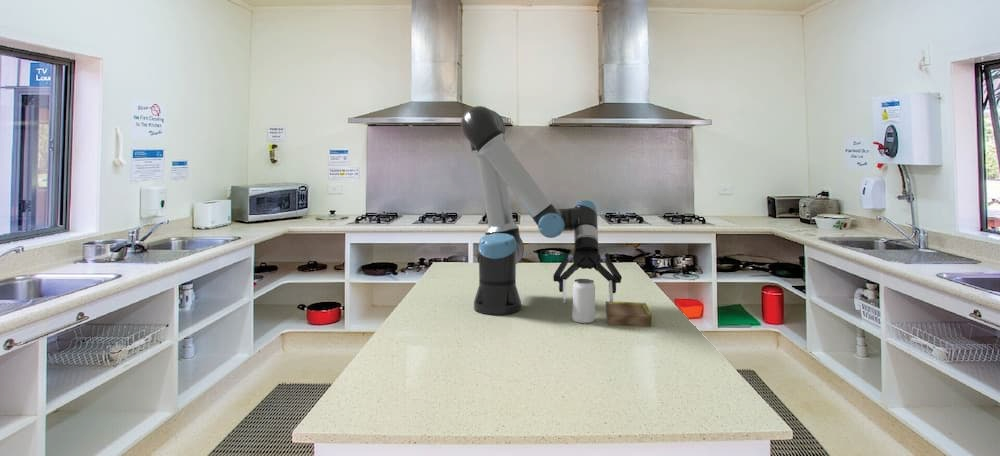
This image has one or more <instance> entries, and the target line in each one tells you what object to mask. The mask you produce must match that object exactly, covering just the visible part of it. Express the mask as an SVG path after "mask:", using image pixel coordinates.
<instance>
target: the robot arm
mask: <svg viewBox="0 0 1000 456" xmlns="http://www.w3.org/2000/svg"><path fill="white" fill-rule="evenodd" d="M460 126H461V131H462V134H463V136H464V137H465V138H466V140H468V142H469V143H470V148H471V153H472V154H473V155H474V156H476V159H477V162H478V163H477V164H478V170H479V175H480V182H481V188H482V195H483V200H484V201H483V202H484V206H485V212H486V219H487V225H488V226H487V228H486V229H485V231H484V234H485V235H483V236H481V237H480V239H479V242H478V247H477V248H478V263H479V264H478V267H479V268H478V278H479V279H478V281H479V282H478V288H477V291H476V294H475V297H474V301H473V310H474V311H475V312H478V313H481V314H485V315H496V316H497V315H498V316H500V315H501V316H502V315H509V314H514V313H517V312H520V310H521V309H522V301H521V297H520V294H519V292H518V288H517V281H516V279H517V278H516V275H517V272H516V271H517V267H516V266H517V264H518V263H519V262H521V260H522V258H523V255H524V252H525V246H524V242H523V240H522V237H521V236H520V235H521V234H520V229H519V225H517V224H516V223H515V222H514V219H513V211H512V206H511V199H510V195H509V189H510V190H511V192H512V193H513V194H514V196H515V197H516V199H518V201H519V202H520V204H521V205H522V206H523V208H524V209H525V210H526V212H527V213H528V214H529V215H530V217H531V218H532V220H533V221H534V223H535V224H536V225H537V226H538V231H539V233H540V234H541V235H542V236H544V237H545V238H549V239H554V238H556V237H558V236H560V235H561V234H562V233H563V232H569V231H570V232H572V231H573V233H574V236H573V237H574V238H573V240H574V246H573V247H574V251H573V252H574V253H573V254H569V253H568V252H565V253H564V256H563V259H562V260H561V262H560V264H559V265H558V267H557V269H556V270H555V272H554V273H553V276H552V277H553V278H552V279H553V282H558V284H559V285H558V291H559V293H562V303H563V304H566V294H567V293H566V291H567V290H566V289H567V288H566V283H567V282H566V280H568V278H570V277H571V276H572V275H573V274H574V273H575V272H576V271H578V270H579V269H580V268H581V270H583V269H588V270H592V269H594V270H595V271H596V272H598V273H599V274H600V275H601V276H602V277H604V279H606V281H608V297H609V299H608V302H610V304H612V303H613V302H614V295H613V294H616V291H617V284H620V283H622V278H623V277H622V275H621V273H620V272H619V270H618V269H617V268H616V266H615V264H614V263H613V261H612V260H611V258H610V254H609V253H605V254H602V255H601V254H600V252H599V250H600V249H599V231H598V230H599V229H598V227H599V226H598V211H597V209H598V208H597V206H596V204H595V203H594V202H593V201H591V200H589V199H582V200H580V201H577V202H576V203H575V204H574V206H573V207H570V208H556V207H555V206H554V205H553V204H552V202H551V201H550V200H549V198H548V197H547V195H546V194H545V193H544V192H543V190H542V189H541V187H540V186H539V185H538V184H537V182H536V181H535V179H534V178H533V177H532V176H531V174H530V173H529V172H528V171H527V169H526V168H525V166H524V165H523V164H522V162H521V161H520V160H519V158H518V157H517V156H516V154H515V153H514V152H513V151H512V149H511V148H510V147H509V145H508V144H507V142H506V140H505V139H506V138H505V132H506V125H505V122H504V120H503V118H502V117H501V115H500V114H499V113H497V112H496V111H495V110H492V109H489V108H488V107H485V106H482V105H480V106H479V105H476V106H473V107H470V108H469V109H468V110H466V111H465V113H464V114H463V116H462V118H461V122H460ZM571 260H572V261H573V263H572V264H571V265H570V266H569V267H568V268H567V269H566V267H567V265H568V263H570V262H571ZM600 261H602V262H603V264H605V266H606V268H605V267H604V266H603V265H602V264H601V262H600ZM565 269H566V270H565ZM607 269H608V270H607Z"/></svg>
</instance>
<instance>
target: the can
mask: <svg viewBox="0 0 1000 456" xmlns="http://www.w3.org/2000/svg"><path fill="white" fill-rule="evenodd" d="M595 310H596V285H595V281H594V280H593V279H589V278H577V279H574V283H573V285H572V313H571V315H572V318H571V319H572V320H573V322H575V323H577V324H583V325H585V324H587V325H588V324H593V322H594V321H595V316H596V315H595V314H596V313H595V312H596V311H595Z"/></svg>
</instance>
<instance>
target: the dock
mask: <svg viewBox="0 0 1000 456" xmlns="http://www.w3.org/2000/svg"><path fill="white" fill-rule="evenodd" d="M605 315H606V317H605V318H606V321H607V326H625V327H626V326H629V327H631V326H632V327H648V328H649V327H652V317H653V316H652V312H651V310H650V309H649V307H648V305H647V303H646V302H630V301H628V302H627V301H613V303H612V304H610V301H609V300H608V301H605Z"/></svg>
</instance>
